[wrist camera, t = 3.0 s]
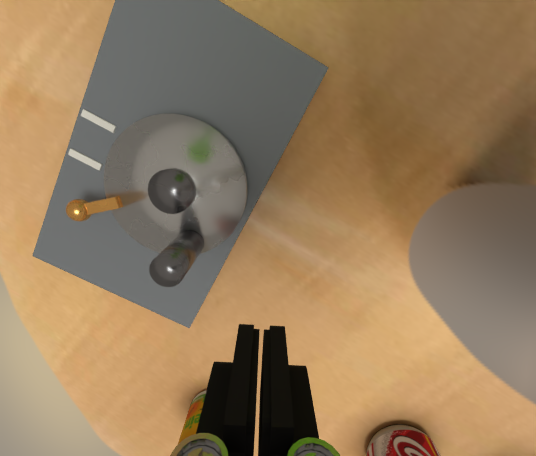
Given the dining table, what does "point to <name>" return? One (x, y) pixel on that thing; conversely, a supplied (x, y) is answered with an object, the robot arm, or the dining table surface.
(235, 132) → the stand
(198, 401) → the supplement bottle
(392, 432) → the soda can
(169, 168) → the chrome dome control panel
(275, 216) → the dining table surface
